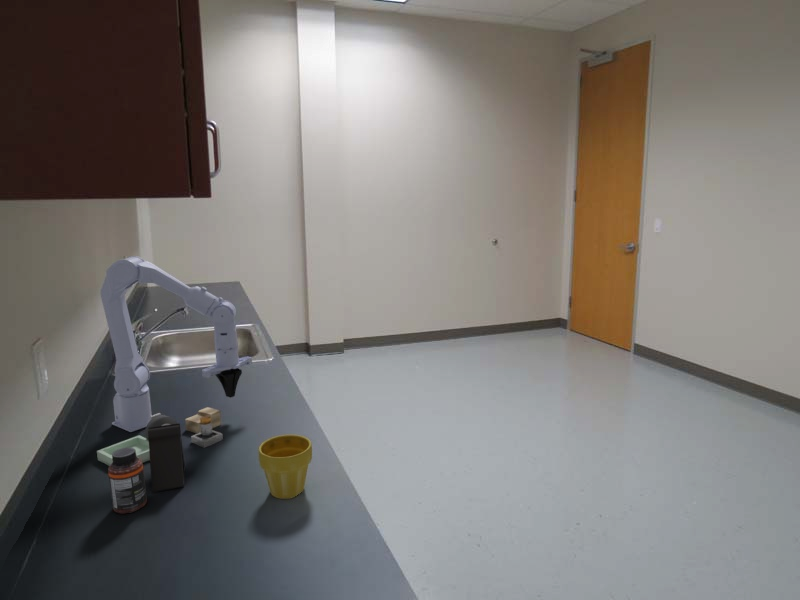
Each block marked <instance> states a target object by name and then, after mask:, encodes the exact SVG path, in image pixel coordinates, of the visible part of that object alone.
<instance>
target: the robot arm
mask: <svg viewBox="0 0 800 600" xmlns="http://www.w3.org/2000/svg"><path fill="white" fill-rule="evenodd" d="M136 283H138V284H155V285H157V286H158V287H160V288H163V289H164V290H166V291H168V292H170V293H173V294H174V295H176V296H179V297H180V298H182V299H183V302H184V304H185V306H186V307H189V308H190V309H192V310H194V311H195V312H197V313H199V314H201V315H202V316H205V317H207V318H209V319H210V321H211V323H212V324H213V336H214V337H213V338H214V350H215V364H213V365H211V366H208V367H206V368H203V369H201V376H202V378H206V379H209V378H211V377H212V376H216V378H217V379H218V381H219V382H220V385H221V386H222V388H223V390H224V394H225V396H226V397H227V398H233V397H235V395H236V391H237V390H236V389H237V386H238V382H239V380H240V377H241V376H242V374H243V371H242V369H241V368H242V367H244V366H247V365H248V366H249V365H252V364H253V358H252V357H251V356H243V357H242V356H241V357H239V347H238V332H237V329H236V328H237V327H236V326H237V324H236V320H235V317H236V316H237V309H236V307H235V305H234V304H233V303H232V302H231V301H230V300H225V299H224V298H223V297H221V296H219V297H218V296H216V295H214V294H212V293H211V292H209V291H207V290H208V288H206V287H205V286H201V287H200V286H198V285H196V286H191V287H190V286H189V285H187V284H186V283H184V282H183V281H181V280H179V279H178V278H176V277H174V276H173V275H171V274H170V273H168V272H166V271H165V270H163V269H162V268H160V267H159V266H157V265H156V264H154V263H153V262H150V261H147V260H144V258H142V257H141V256H137V255H131V256H128V257H126V258H122V259H118V260H116V261H114V262H113V263H112V264H111V265H110V266H109V267H108V268H107V269H106V271H105V277H104V280H103V283H102V285H101V289H100V292H99V293H100V298H101V303H102V305H103V310H104V314H105V318H106V323H107V326H108V327H107V328H108V331H109V334H110V335H109V336H110V339H111V343H112V347H113V348H112V349H113V350H114V354H115V355H114V356H115V360H116V361H115V366H114V375H115V378H114V381H113V387H114V390H115V392H116V393H115V394H114V396H113V400H112V402H113V403H112V404H113V410H114V411H113V412H114V421H113V422H111V424H112V425H113V426H115V427H117V428H120V429H122V430H125V431H127V432H129V433H133V432H135V431H138V430H141V429H144V428H146V426H147V424H148V423H149V421H150V416H152V405H151V395H150V388H149V386H148V381H149V380H150V377H151V371H150V369H149V367H148V366H147V365H146V363H145V362H144V358H143V357H142V355H140V353H139V351H138V346H137V342H136V338H135V334H134V330H133V326H132V321H131V317H130V312H129V309H128V305H127V301H126V294H127V293H128V291H130V289H131V288H133V285H134V284H136Z"/></svg>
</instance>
